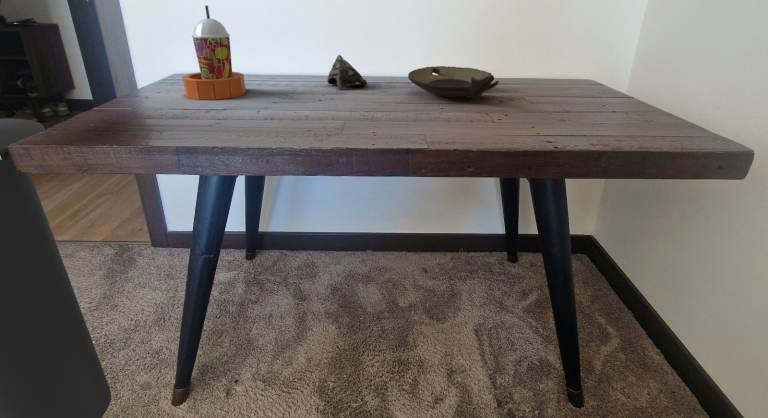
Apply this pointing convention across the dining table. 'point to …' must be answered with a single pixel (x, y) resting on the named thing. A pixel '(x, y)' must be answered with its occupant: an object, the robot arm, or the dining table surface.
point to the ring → (213, 87)
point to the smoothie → (212, 49)
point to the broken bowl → (453, 81)
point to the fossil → (344, 74)
